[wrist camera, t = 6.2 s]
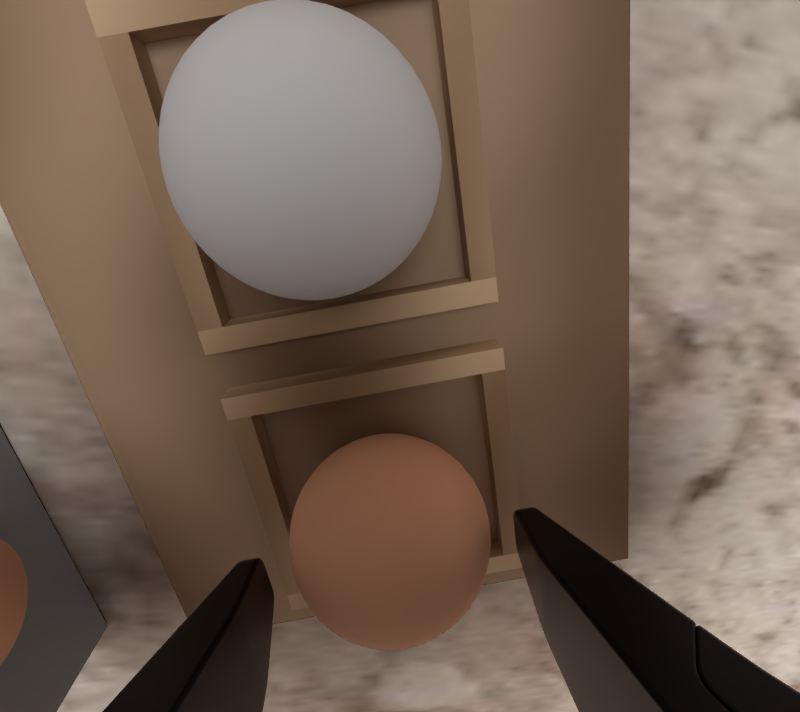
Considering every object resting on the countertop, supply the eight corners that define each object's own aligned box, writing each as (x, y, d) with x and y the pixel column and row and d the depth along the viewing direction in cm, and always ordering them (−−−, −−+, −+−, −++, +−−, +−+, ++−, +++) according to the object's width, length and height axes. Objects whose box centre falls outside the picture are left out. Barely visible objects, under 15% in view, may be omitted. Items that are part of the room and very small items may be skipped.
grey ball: (406, 29, 8) (439, -105, 4) (438, 256, 10) (483, 301, 6) (183, 70, 8) (25, -29, 4) (248, 291, 10) (170, 359, 6)
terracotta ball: (456, 386, 11) (506, 496, 7) (476, 525, 12) (526, 680, 8) (284, 418, 11) (239, 546, 7) (323, 554, 12) (304, 722, 8)
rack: (591, -813, 6) (666, -1148, 4) (610, 532, 14) (640, 575, 12) (-326, -650, 6) (-561, -937, 4) (208, 606, 14) (188, 659, 12)
